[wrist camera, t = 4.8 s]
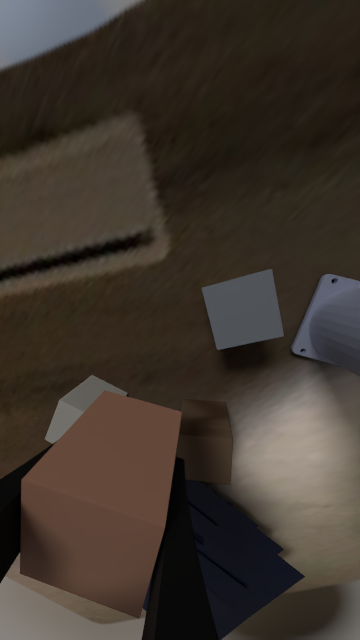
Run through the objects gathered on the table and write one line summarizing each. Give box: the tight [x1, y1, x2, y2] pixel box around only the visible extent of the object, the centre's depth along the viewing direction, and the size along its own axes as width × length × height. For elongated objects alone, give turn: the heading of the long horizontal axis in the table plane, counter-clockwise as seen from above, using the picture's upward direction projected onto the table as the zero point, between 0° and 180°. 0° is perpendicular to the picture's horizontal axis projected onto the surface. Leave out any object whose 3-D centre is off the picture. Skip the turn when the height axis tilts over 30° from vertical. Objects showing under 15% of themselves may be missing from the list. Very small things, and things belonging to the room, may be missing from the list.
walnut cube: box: [177, 399, 233, 485], centre depth 18 cm, size 5×5×5 cm
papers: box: [142, 479, 305, 640], centre depth 23 cm, size 24×30×4 cm
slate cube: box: [202, 269, 284, 350], centre depth 15 cm, size 5×5×5 cm
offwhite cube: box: [45, 375, 128, 444], centre depth 19 cm, size 5×5×5 cm
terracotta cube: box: [20, 390, 182, 618], centre depth 8 cm, size 5×5×5 cm
